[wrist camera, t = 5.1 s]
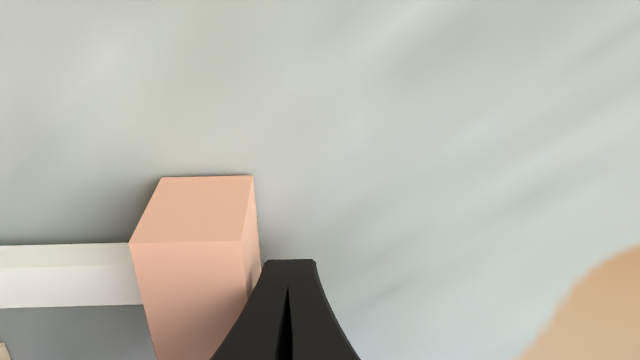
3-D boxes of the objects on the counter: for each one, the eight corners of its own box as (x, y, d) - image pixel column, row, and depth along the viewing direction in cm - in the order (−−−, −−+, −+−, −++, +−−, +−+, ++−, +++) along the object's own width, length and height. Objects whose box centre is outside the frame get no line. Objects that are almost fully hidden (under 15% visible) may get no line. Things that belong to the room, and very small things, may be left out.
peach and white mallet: (264, 310, 16) (254, 423, 13) (-90, 320, 16) (-198, 437, 13) (253, 175, 14) (235, 269, 10) (-166, 184, 14) (-326, 284, 10)
